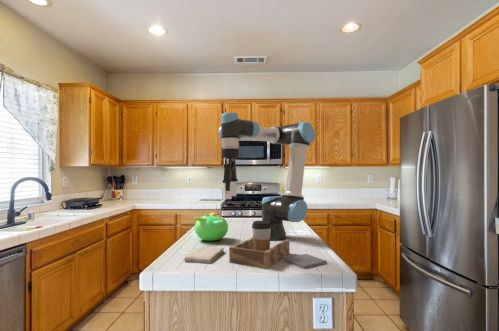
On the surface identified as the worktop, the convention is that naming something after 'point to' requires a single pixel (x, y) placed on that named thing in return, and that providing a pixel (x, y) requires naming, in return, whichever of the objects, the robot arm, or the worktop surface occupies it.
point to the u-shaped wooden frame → (257, 254)
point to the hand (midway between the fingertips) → (230, 197)
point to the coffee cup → (261, 235)
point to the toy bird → (211, 227)
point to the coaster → (305, 261)
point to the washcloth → (204, 254)
